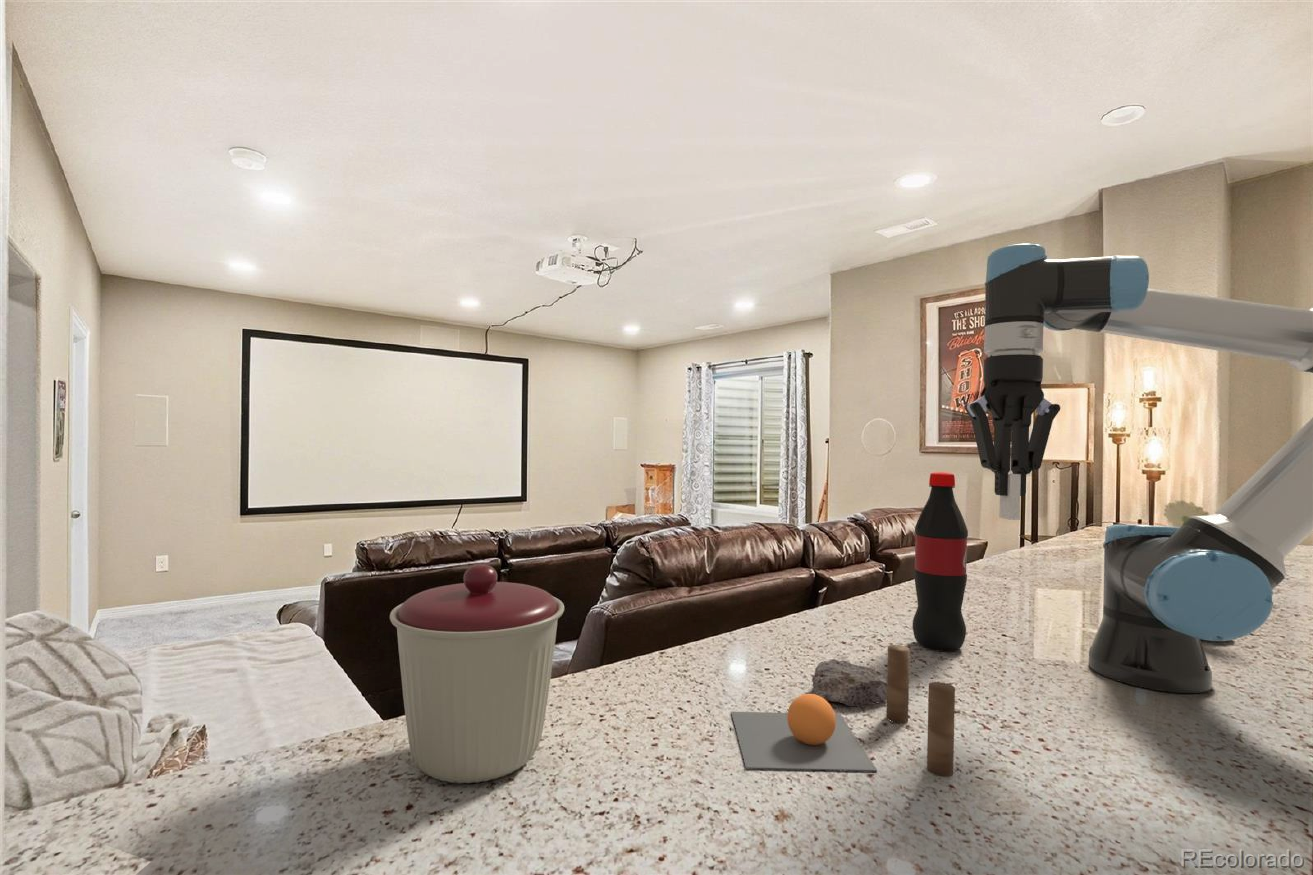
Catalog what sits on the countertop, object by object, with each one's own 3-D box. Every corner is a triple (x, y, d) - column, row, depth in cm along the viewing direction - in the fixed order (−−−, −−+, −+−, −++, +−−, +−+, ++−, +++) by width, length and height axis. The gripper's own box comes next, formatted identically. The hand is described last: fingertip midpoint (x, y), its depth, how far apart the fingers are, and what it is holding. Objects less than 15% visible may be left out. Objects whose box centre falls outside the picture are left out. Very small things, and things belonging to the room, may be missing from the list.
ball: (773, 708, 79) (803, 741, 79) (783, 728, 73) (816, 764, 73) (806, 677, 79) (836, 710, 79) (819, 694, 73) (852, 730, 73)
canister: (500, 824, 59) (505, 591, 59) (346, 783, 65) (350, 573, 65) (589, 738, 76) (592, 557, 76) (460, 712, 82) (463, 545, 82)
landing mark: (840, 715, 84) (840, 713, 84) (877, 771, 70) (877, 770, 70) (731, 713, 84) (731, 711, 84) (745, 769, 70) (746, 767, 70)
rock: (897, 702, 89) (898, 672, 89) (831, 713, 85) (832, 682, 85) (855, 679, 97) (856, 652, 97) (793, 688, 93) (794, 660, 93)
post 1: (903, 714, 84) (904, 645, 84) (911, 723, 82) (912, 651, 82) (883, 714, 84) (884, 644, 84) (890, 723, 82) (892, 651, 82)
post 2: (946, 764, 72) (948, 682, 72) (957, 776, 69) (959, 691, 69) (922, 763, 72) (924, 681, 72) (933, 776, 69) (934, 691, 69)
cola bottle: (968, 644, 114) (972, 472, 114) (961, 658, 107) (965, 474, 107) (917, 635, 118) (920, 470, 118) (907, 648, 111) (911, 472, 111)
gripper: (980, 351, 91) (976, 521, 91) (1074, 353, 91) (1070, 523, 91) (956, 357, 98) (952, 514, 98) (1042, 359, 98) (1039, 516, 98)
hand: (1009, 518), depth 94 cm, fingers closed
